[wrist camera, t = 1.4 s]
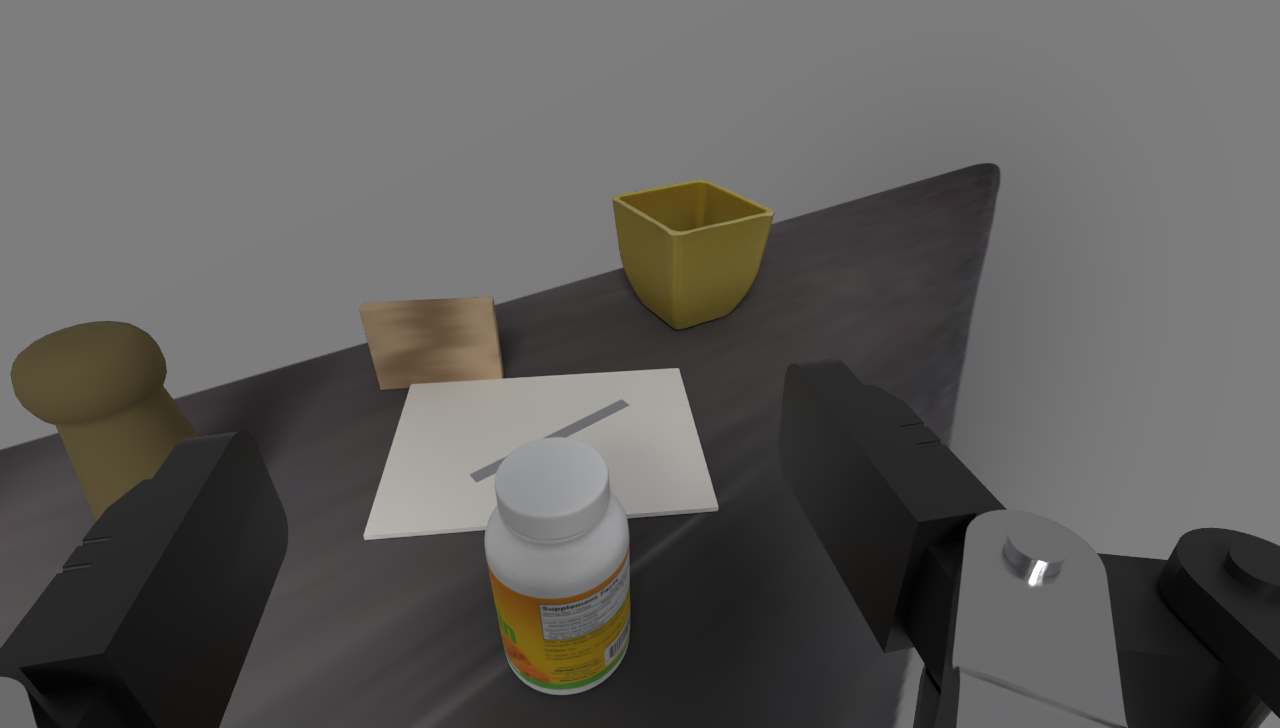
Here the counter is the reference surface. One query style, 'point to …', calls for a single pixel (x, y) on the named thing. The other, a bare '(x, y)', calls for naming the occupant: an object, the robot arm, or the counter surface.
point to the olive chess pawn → (103, 404)
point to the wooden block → (433, 341)
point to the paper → (527, 411)
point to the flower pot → (690, 248)
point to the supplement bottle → (559, 566)
